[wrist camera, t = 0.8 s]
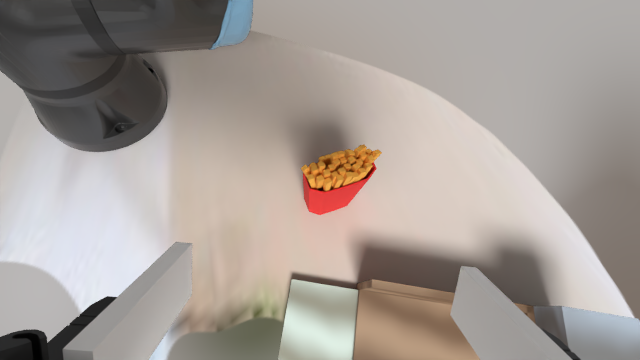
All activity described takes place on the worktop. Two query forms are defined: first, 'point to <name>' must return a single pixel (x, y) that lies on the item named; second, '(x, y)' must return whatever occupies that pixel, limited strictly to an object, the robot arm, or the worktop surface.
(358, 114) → the worktop surface
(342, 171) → the french fries
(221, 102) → the worktop surface
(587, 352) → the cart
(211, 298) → the worktop surface
